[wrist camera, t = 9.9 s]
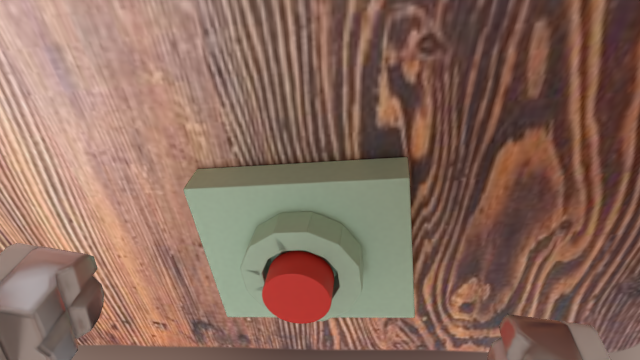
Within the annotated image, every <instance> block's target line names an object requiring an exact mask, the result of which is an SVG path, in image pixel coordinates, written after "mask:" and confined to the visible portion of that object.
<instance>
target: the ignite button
mask: <svg viewBox="0 0 640 360" xmlns="http://www.w3.org/2000/svg"><path fill="white" fill-rule="evenodd" d="M333 287H334V273H333V271H332V269H331V267H330V266H329V264H328V263H327V262H326V261H325V260H323V259H322V258H320V257H319V256H317V255H315V254H312V253H309V252H304V251H290V252H286V253H283V254H281V255H279V256H278V257H276V258H275V259H274V260H273V261H272V263H271V265H270V267H269V271H268V274H267V277H266V280H265V283H264V287H263V290H262V298H263V302H264V304H265V306H266V307H267V309H268V310H269V311H270V312H271V313H273V314H274V315H275V316H277V317H279V318H280V319H283V320H285V321H288V322H292V323H311V322H315V321H317V320H319V319H321V318H323V317H324V316H325V315H326V314H327V313H328V311H329V310H330V307H331V302H332V294H333Z"/></svg>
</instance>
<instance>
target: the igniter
mask: <svg viewBox="0 0 640 360" xmlns="http://www.w3.org/2000/svg"><path fill="white" fill-rule="evenodd" d="M184 193H185V196H186V199H187V202H188V205H189V208H190V211H191V213H192V216H193V219H194V222H195V225H196V228H197V231H198V234H199V236H200V239H201V242H202V245H203V248H204V251H205V254H206V257H207V260H208V262H209V265H210V268H211V271H212V274H213V277H214V280H215V283H216V285H217V288H218V291H219V294H220V297H221V300H222V303H223V306H224V308H225V311H226V314H227V317H277V316H275V315H274V314H273V313H271V312H270V311H269V310H268V309H267V307H266V306H265V304H264V302H263V298H262V290H263V287H264V283H265V280H266V277H267V274H268V271H269V267H270V265H271V263H272V261H273V260H274V259H275V258H276V257H278V256H279V255H281V254H283V253H286V252H290V251H304V252H309V253H312V254H315V255H317V256H319V257H320V258H322V259H323V260H325V261H326V262H327V263H328V264H329V266H330V267H331V269H332V271H333V273H334V287H333V294H332V302H331V307H330V310H329V311H328V313H327V314H326V315H325V316H324V317H323V318H321V319H319V320H317V321H325V320H328V319H330V318H332V317H357V318H414V317H415V307H414V281H413V254H412V228H411V201H410V177H409V165H408V158H407V157H400V158H382V159H365V160H347V161H330V162H312V163H295V164H278V165H260V166H243V167H225V168H208V169H197V170H196V172H195V173H194V174H193V176H192V177H191V179H190V180H189V182H188V183H187V185H186V186H185V188H184Z"/></svg>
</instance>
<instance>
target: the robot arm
mask: <svg viewBox="0 0 640 360" xmlns="http://www.w3.org/2000/svg"><path fill="white" fill-rule="evenodd" d="M96 270H97V265H96V262H95V259H94V256H91V255H88V254H83V253H77V252H71V251H65V250H59V249H53V248H48V247H42V246H41V247H39V246H33V245H27V244H21V243H16V244H13V245H10V246H8V247H7V248H6V249H5V250H4V251H2V252H1V253H0V360H71V359H72V358H73V356H74V355H75V353H76V352H77V351H78V344H77V339H78V338H79V337H81V336H83V335H84V334H86V333H88V332H89V331H91V330H92V328H93V327H94V325H95V323H96V322H97V320H98V319H99V316H100V313H101V310H102V307H103V302H104V292H103V288H102V285H101V284H100V283H99V282H98V281H97V280H96V279H95V278H94V277H93V276H92V275H93V274H94V273H95V271H96ZM499 329H500V333H501V338H499V339H498V340H496V341H494V342H492V345H491V347H490V350H489V352H488V357H487V360H611V359H610V356H609V354H608V352H607V350H606V348H605V346H604V344H603V342H602V340H601V338H600V336H599V334H598V332H597V331H596V330H595V329H594V328H593V327H592V326H591V325H583V324H576V323H569V322H560V321H555V320H547V319H540V318H532V317H525V316H517V315H510V314H508V315H506V316H505V317H504V318H503V320H502V322H501V324H500V326H499Z"/></svg>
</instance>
